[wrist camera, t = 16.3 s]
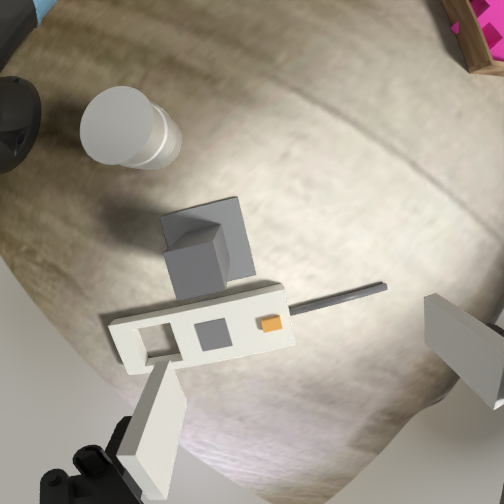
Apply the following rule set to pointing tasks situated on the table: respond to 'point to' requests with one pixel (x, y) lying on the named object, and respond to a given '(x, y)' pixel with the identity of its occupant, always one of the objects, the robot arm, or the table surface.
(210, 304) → the power strip
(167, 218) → the mat
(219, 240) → the block
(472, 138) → the table surface
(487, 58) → the display box
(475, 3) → the bracket
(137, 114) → the grey ribbed canister
